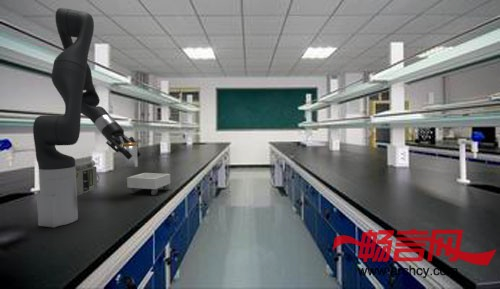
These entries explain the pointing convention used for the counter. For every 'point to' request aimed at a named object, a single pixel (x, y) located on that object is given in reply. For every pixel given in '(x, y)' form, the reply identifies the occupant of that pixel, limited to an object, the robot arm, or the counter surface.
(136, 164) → the canister
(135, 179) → the parts cart
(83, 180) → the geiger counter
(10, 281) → the counter surface
